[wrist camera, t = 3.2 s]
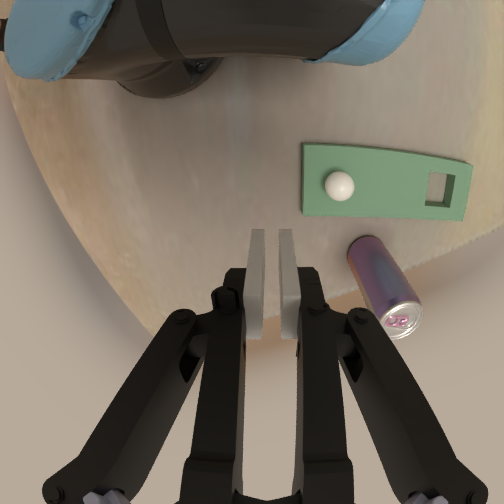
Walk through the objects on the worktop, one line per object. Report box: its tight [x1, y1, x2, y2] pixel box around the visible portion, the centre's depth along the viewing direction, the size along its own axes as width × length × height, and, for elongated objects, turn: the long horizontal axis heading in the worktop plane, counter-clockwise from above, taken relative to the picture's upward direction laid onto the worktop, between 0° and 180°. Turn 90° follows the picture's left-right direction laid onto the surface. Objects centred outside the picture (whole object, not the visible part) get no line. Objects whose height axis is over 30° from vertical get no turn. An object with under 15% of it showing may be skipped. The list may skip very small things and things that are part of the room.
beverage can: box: [348, 237, 423, 340], centre depth 31 cm, size 6×6×15 cm
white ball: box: [325, 171, 354, 201], centre depth 30 cm, size 4×4×4 cm
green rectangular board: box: [301, 143, 473, 221], centre depth 31 cm, size 26×9×2 cm, turn 92°
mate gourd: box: [0, 18, 8, 52], centre depth 15 cm, size 7×8×10 cm
